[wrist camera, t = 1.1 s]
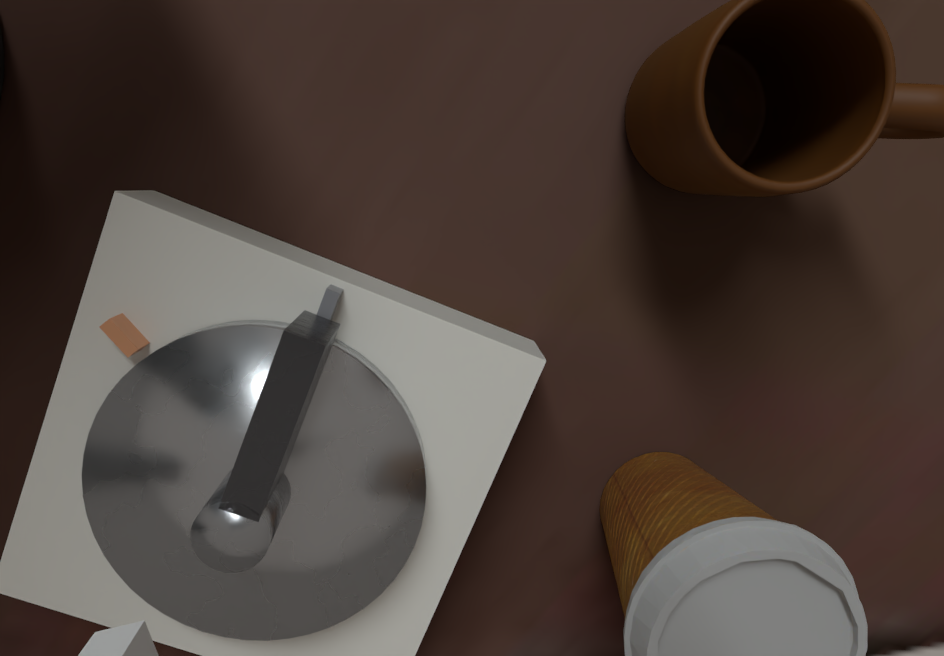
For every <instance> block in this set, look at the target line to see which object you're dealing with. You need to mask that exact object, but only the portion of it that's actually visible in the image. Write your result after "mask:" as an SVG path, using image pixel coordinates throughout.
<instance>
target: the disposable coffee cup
mask: <svg viewBox="0 0 944 656" xmlns="http://www.w3.org/2000/svg"><path fill="white" fill-rule="evenodd" d="M600 517H601V522H602V525H603V529H604V534H605V537H606V542H607V546H608V550H609V555H610V559H611V563H612V567H613V571H614V575H615V579H616V583H617V587H618V591H619V596H620V601H621V604H622V609H623V613H624V617H625V624H624V630H623V635H624V651H625V656H865V654H866V651H867V622H866V618H865V614H864V610H863V606H862V604H861V602H860V600H859V596H858V593H857V589H856V586H855V583H854V580H853V577H852V575H851V574H850V572H849V570H848V568H847V567H846V565H845V563H844V562H843V560H842V559H841V558H840V557H839V556H838V555H837V553H836V552H835V551H834V550H833V549H832V548H831V547H830V546H829V545H827V544H826V543H825V542H823V541H822V540H820V539H819V538H818V537H816V536H815V535H813V534H812V533H810V532H808V531H806V530H804V529H802V528H800V527H798V526H796V525H792V524H788V523H784V522H779V521H778V520H776V519H774V518H773V517H771V516H770V515H769V514H767V513H766V512H764V511H763V510H761V509H760V508H758V507H757V506H755V505H754V504H753V503H751V502H750V501H748V500H747V499H745V498H744V497H742V496H741V495H739V494H738V493H737V492H735V491H734V490H732V489H731V488H729V487H728V486H726V485H725V484H723V483H722V482H721V481H719V480H718V479H716V478H715V477H713V476H712V475H710V474H709V473H707V472H706V471H704V470H703V469H701V468H700V467H699V466H697V465H696V464H695V463H693V462H692V461H690V460H689V459H687V458H685V457H683V456H680V455H678V454H673V453H669V452H654V453H648V454H644V455H641V456H639V457H636V458H633V459H632V460H630V461H628V462H626V463H625V464H624V465H622V466H621V467H620V468H619V469H618V470H616V472H615V473H614V474H613V475H612V477H611V478H610V479H609V481H608V482H607V484H606V486H605V488H604V490H603V493H602V497H601V501H600Z"/></svg>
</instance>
